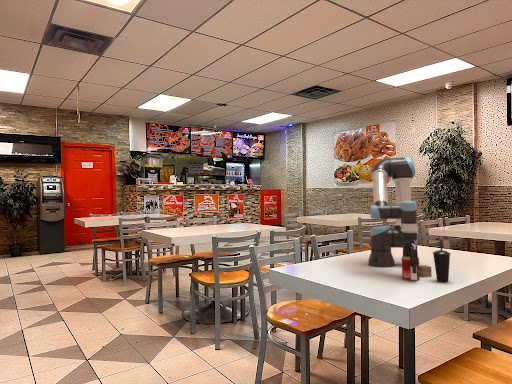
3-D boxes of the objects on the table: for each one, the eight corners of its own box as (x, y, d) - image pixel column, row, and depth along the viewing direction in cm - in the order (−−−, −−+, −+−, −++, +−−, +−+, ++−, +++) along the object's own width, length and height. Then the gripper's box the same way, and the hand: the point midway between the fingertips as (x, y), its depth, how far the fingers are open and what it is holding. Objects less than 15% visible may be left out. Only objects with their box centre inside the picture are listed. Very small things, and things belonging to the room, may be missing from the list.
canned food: (421, 281, 172) (420, 258, 172) (404, 280, 174) (403, 258, 174) (417, 277, 180) (416, 255, 180) (400, 277, 181) (400, 255, 182)
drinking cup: (430, 280, 173) (428, 239, 174) (441, 278, 176) (440, 238, 176) (443, 283, 166) (441, 241, 166) (455, 282, 169) (453, 239, 169)
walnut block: (416, 275, 185) (416, 265, 185) (425, 274, 186) (424, 265, 186) (422, 277, 180) (422, 267, 180) (431, 276, 181) (431, 266, 181)
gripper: (394, 230, 188) (396, 273, 187) (408, 234, 167) (410, 282, 167) (409, 229, 187) (411, 273, 187) (425, 233, 167) (427, 282, 166)
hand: (410, 277), depth 177 cm, fingers closed on canned food, 8 cm apart
